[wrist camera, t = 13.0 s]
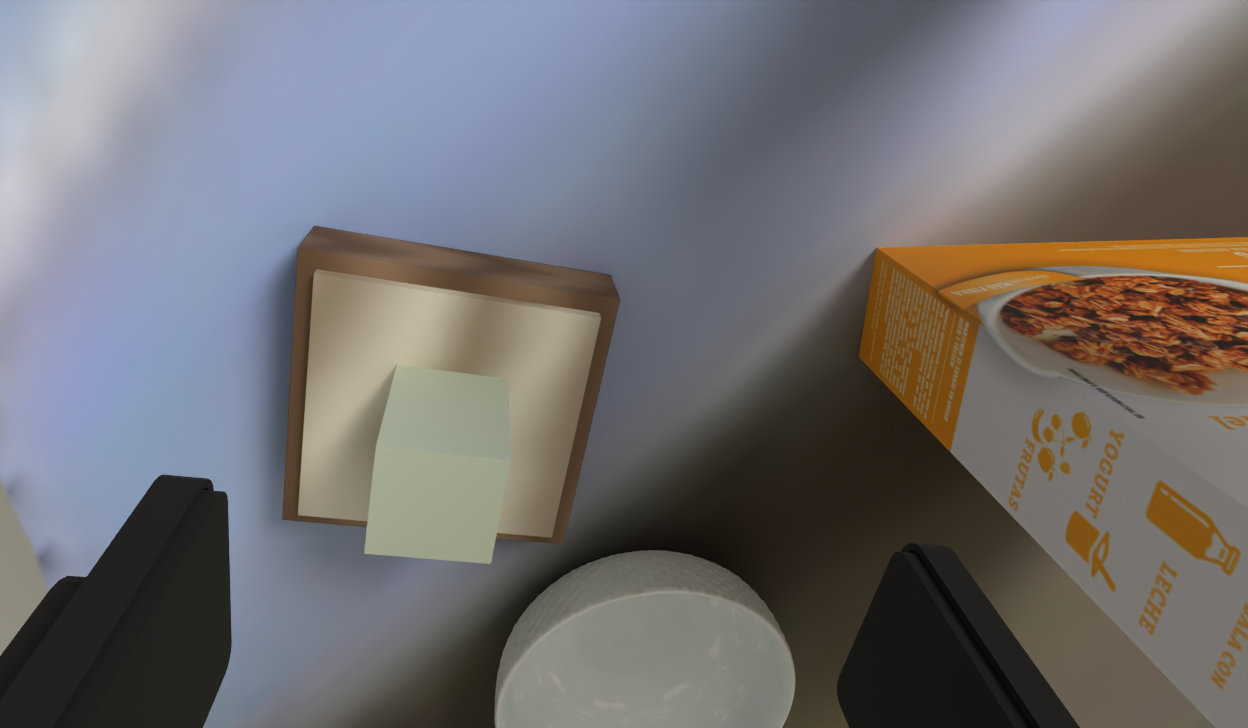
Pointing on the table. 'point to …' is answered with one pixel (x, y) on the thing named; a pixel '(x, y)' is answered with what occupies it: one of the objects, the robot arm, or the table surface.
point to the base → (440, 366)
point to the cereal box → (1097, 422)
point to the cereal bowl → (646, 650)
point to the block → (440, 466)
